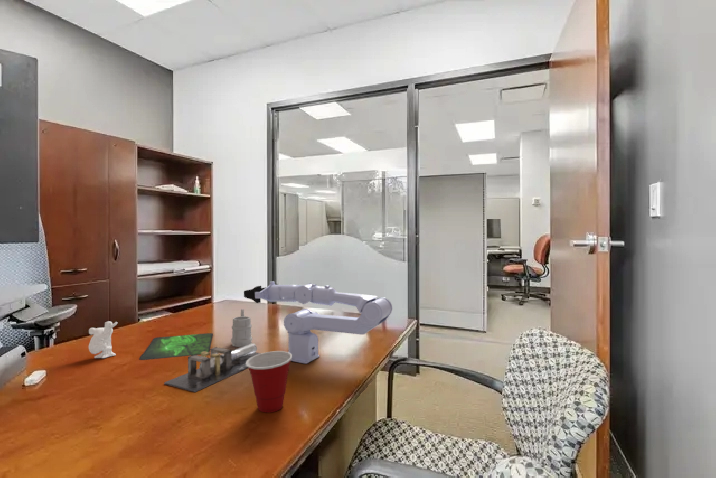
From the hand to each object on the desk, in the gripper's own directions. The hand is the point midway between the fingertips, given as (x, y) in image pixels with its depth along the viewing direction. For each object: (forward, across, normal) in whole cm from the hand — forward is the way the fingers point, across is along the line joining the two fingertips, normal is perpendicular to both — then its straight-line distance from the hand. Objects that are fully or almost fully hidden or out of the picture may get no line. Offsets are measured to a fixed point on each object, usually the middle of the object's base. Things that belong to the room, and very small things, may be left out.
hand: (252, 292), depth 131 cm
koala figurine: (+42, +25, +20) cm, 53 cm away
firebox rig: (-3, +17, +21) cm, 27 cm away
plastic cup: (-31, +32, +24) cm, 50 cm away
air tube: (-3, +14, +20) cm, 25 cm away
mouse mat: (+30, +5, +20) cm, 36 cm away
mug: (+11, -7, +20) cm, 24 cm away
